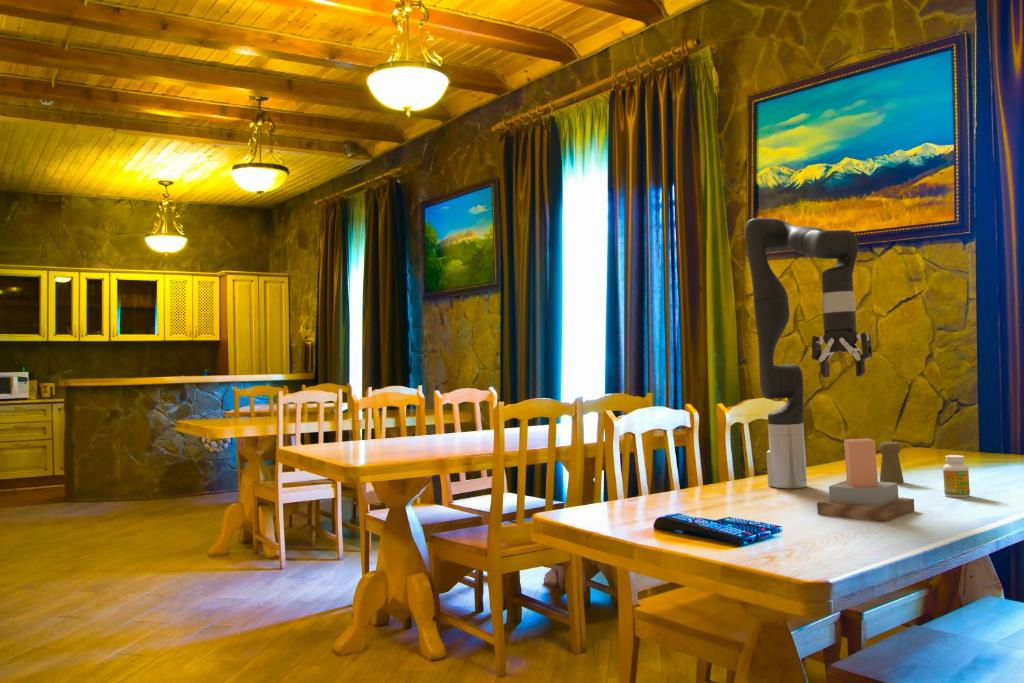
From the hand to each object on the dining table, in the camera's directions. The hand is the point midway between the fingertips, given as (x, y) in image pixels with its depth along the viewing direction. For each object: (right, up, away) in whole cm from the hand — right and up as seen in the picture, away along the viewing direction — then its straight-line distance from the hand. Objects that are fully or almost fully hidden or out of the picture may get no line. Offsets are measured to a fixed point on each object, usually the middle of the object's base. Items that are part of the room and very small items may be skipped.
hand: (842, 376), depth 198 cm
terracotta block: (-2, -24, -17) cm, 29 cm away
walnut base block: (-2, -31, -17) cm, 35 cm away
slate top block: (-2, -27, -17) cm, 32 cm away
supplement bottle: (+27, -29, -3) cm, 40 cm away
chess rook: (+22, -30, +21) cm, 43 cm away
